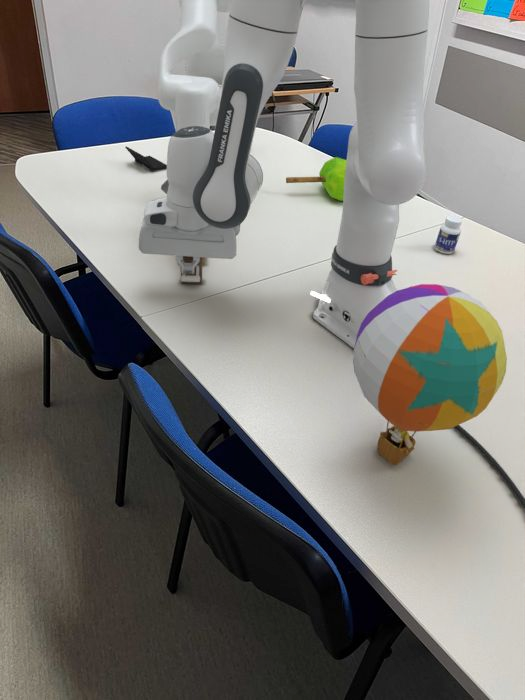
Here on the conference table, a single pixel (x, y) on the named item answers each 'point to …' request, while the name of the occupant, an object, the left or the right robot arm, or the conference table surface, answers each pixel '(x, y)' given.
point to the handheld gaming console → (147, 161)
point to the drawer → (197, 275)
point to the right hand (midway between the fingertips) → (187, 272)
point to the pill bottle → (448, 235)
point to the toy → (427, 362)
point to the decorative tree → (328, 177)
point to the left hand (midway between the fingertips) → (193, 217)
